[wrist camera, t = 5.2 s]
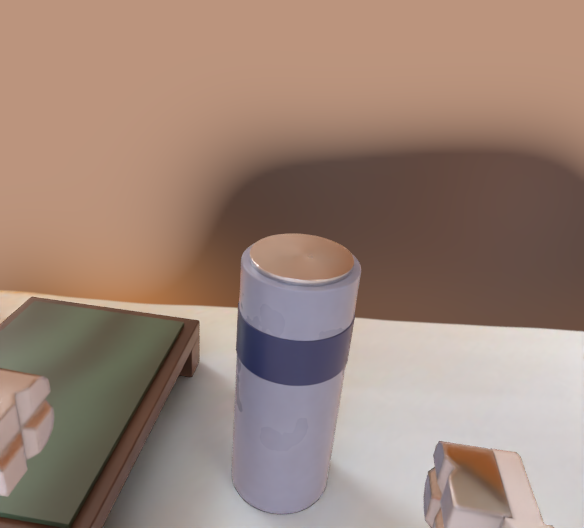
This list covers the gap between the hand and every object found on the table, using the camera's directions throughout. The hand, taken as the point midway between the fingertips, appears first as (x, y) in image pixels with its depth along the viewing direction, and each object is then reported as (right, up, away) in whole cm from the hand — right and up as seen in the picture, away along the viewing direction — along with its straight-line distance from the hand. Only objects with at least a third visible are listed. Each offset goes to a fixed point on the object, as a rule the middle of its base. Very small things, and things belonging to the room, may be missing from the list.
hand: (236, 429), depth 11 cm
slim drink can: (0, -8, +18) cm, 20 cm away
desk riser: (-12, -6, +19) cm, 24 cm away
